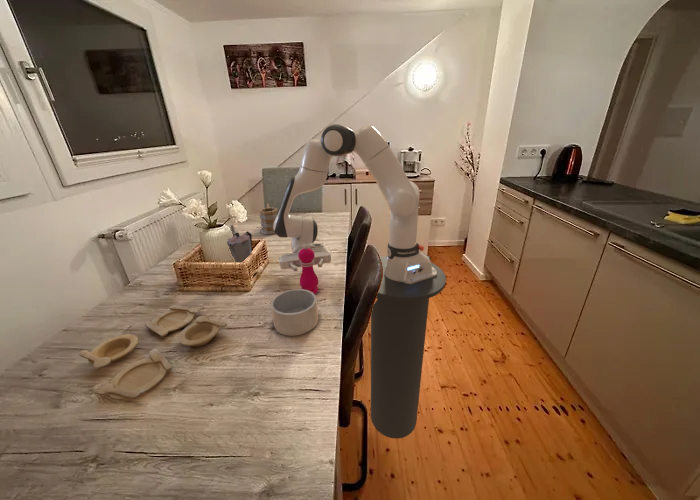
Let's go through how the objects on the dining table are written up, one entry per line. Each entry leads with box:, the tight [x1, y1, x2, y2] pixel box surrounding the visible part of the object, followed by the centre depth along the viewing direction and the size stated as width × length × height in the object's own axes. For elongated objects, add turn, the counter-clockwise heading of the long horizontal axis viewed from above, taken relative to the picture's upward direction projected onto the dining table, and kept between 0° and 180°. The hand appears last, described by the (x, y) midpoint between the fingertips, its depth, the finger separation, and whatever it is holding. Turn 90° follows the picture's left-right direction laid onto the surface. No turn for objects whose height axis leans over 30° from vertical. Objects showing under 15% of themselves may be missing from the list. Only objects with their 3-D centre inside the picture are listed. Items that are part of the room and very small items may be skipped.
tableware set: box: [78, 304, 228, 400], centre depth 84 cm, size 35×29×4 cm
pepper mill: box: [298, 245, 319, 295], centre depth 107 cm, size 7×7×20 cm
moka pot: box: [226, 230, 253, 263], centre depth 122 cm, size 10×15×20 cm, turn 170°
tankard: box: [259, 203, 279, 236], centre depth 178 cm, size 20×13×15 cm, turn 13°
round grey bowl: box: [270, 288, 319, 337], centre depth 93 cm, size 15×15×8 cm
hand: (307, 267), depth 106 cm, fingers open, 8 cm apart
